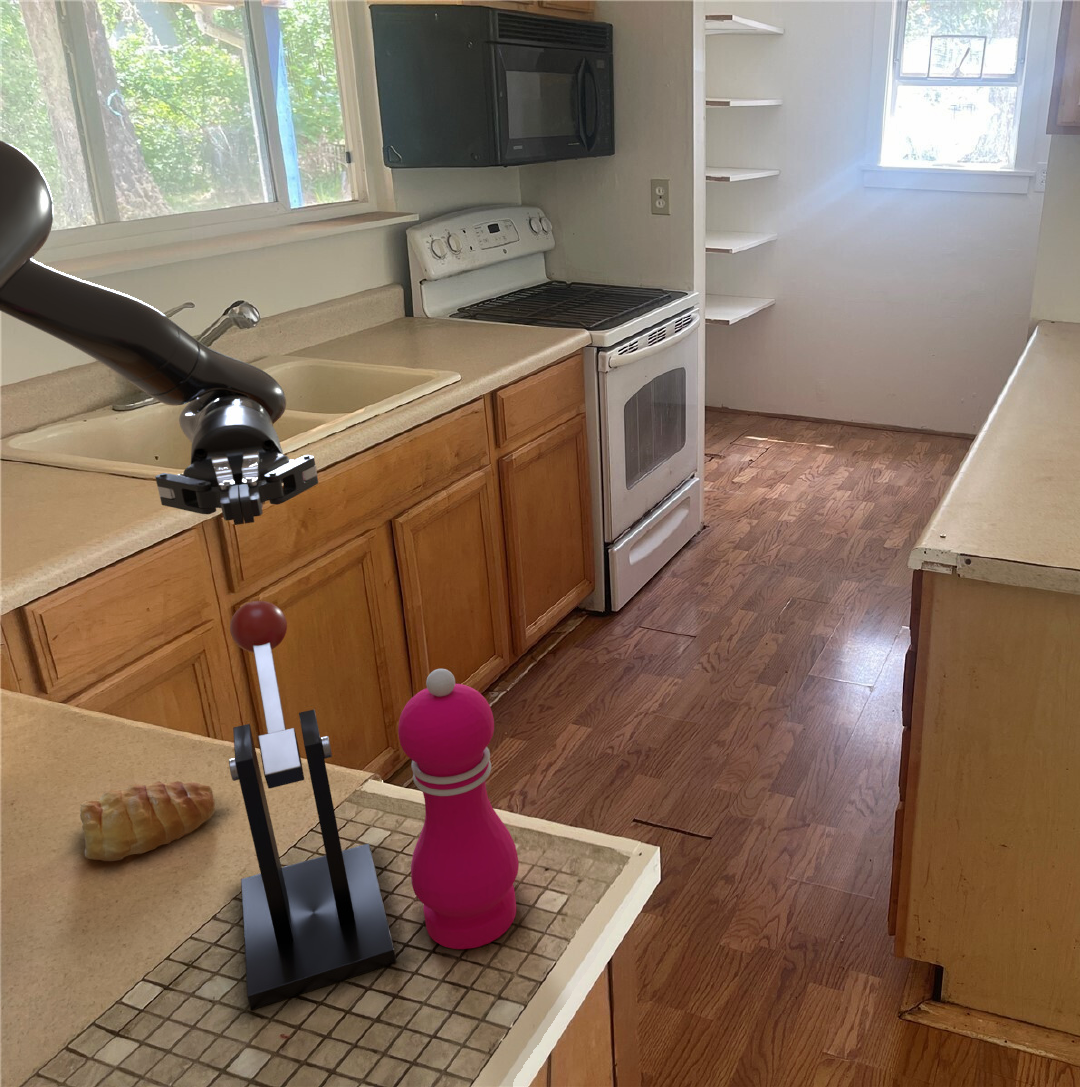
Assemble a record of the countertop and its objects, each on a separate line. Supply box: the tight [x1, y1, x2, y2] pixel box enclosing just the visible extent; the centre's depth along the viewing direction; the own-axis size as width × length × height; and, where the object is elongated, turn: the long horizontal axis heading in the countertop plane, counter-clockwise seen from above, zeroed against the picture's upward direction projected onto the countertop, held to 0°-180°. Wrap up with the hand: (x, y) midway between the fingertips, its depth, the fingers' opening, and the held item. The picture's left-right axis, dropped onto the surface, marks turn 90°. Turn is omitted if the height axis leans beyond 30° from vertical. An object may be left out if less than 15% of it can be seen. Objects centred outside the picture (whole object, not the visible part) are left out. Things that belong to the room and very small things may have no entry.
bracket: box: [228, 709, 397, 1011], centre depth 68 cm, size 12×9×16 cm
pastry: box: [79, 780, 217, 862], centre depth 80 cm, size 9×7×4 cm
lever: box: [229, 600, 305, 790], centre depth 68 cm, size 13×4×4 cm
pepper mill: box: [397, 668, 520, 950], centre depth 68 cm, size 7×7×20 cm
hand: (242, 512), depth 79 cm, fingers closed
